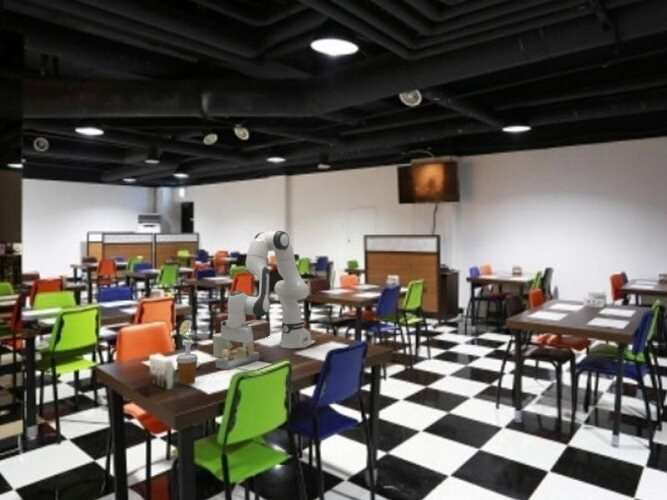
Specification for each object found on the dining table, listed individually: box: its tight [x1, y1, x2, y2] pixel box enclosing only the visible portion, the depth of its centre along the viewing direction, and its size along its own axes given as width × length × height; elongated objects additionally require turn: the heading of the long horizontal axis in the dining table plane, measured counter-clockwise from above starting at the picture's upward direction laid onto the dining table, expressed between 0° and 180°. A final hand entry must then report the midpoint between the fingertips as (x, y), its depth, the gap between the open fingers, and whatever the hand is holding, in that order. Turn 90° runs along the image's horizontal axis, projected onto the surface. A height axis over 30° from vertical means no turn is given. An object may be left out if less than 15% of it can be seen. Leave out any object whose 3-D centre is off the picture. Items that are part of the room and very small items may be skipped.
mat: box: [237, 360, 273, 372], centre depth 233 cm, size 14×10×1 cm
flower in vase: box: [176, 319, 201, 369], centre depth 231 cm, size 13×11×25 cm
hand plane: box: [215, 341, 260, 371], centre depth 240 cm, size 22×9×10 cm, turn 146°
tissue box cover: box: [231, 319, 271, 346], centre depth 296 cm, size 26×14×10 cm, turn 143°
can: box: [212, 332, 229, 358], centre depth 257 cm, size 9×9×12 cm
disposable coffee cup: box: [175, 353, 199, 386], centre depth 210 cm, size 10×10×12 cm
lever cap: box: [230, 346, 247, 358], centre depth 240 cm, size 8×5×4 cm, turn 146°
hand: (236, 349), depth 239 cm, fingers open, 8 cm apart
